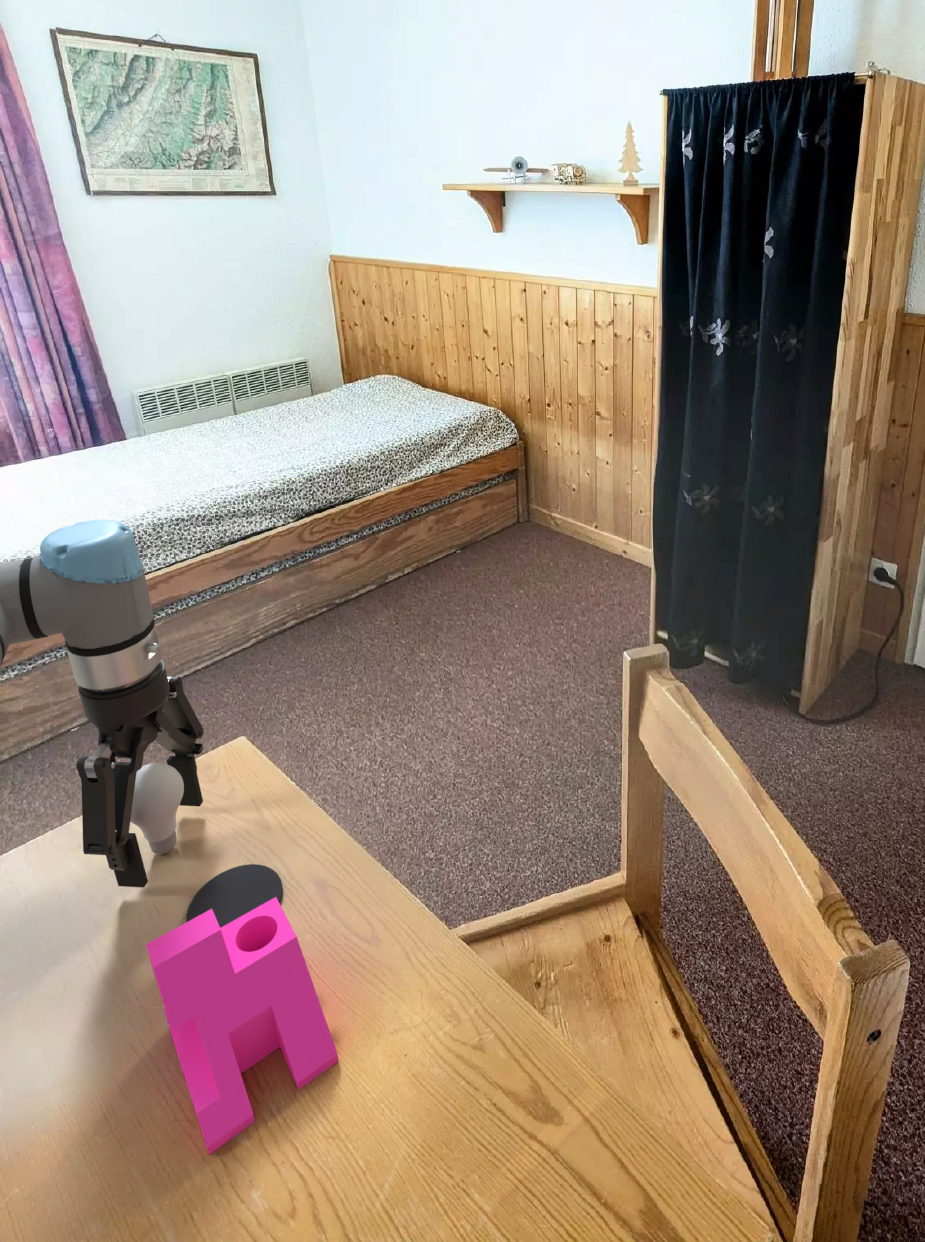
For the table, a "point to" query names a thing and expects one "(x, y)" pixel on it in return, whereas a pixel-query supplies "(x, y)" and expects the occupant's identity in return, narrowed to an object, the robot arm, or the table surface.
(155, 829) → the lightbulb
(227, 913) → the coaster
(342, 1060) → the table surface
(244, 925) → the bracket
